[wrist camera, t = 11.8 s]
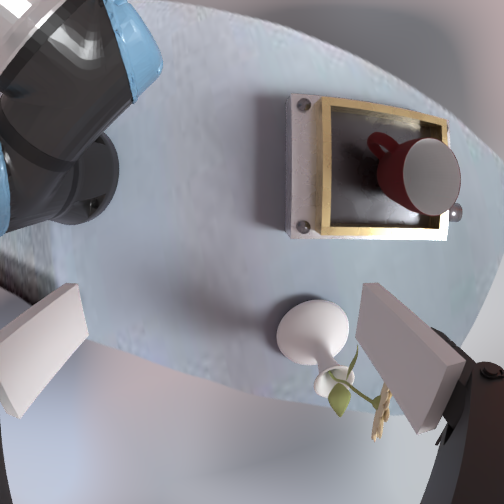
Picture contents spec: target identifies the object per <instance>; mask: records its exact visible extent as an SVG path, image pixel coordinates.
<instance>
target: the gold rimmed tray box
mask: <svg viewBox="0 0 504 504" xmlns="http://www.w3.org/2000/svg"><path fill="white" fill-rule="evenodd" d="M374 132H382V133H385V134H387V135H389V136H390V137H392V138H393V139H394V140H395V141H396V142H397V143H398V144H402V143H404V142H407V141H409V140H413V139H418V138H426V137H430V138H435V139H438V140H440V141H442V142H443V143H445V144H446V145H447V146H448V147H449V148H450V130H449V120H447V119H444V118H440V117H436V116H433V115H429V114H425V113H421V112H417V111H412V110H408V109H403V108H398V107H394V106H388V105H383V104H378V103H372V102H366V101H359V100H352V99H345V98H337V97H328V96H318V95H307V94H292V93H291V95H290V96H289V98H288V100H287V102H286V214H285V232H286V233H287V235H288V236H289V237H290V238H291V239H415V240H446V236H447V227H448V221H451V222H458V221H460V220H461V218H462V208H461V206H460V204H458V203H454V205H453V206H452V207H451V208H450V209H449V210H448V211H447V212H446V213H444V214H442V215H439V216H427V215H422V214H418V213H415V212H412V211H410V210H408V209H406V208H404V207H403V206H401V205H399V204H398V203H396V202H394V201H393V200H391V199H390V198H388V197H387V196H386V195H385V194H384V193H383V191H382V190H381V188H380V186H379V183H378V180H377V168H378V164H379V159H378V158H377V157H376V156H375V155H374V154H373V153H372V152H371V150H370V149H369V148H368V145H367V139H368V137H369V136H370V135H371V134H372V133H374ZM380 147H381V148H382V150H383V151H384V152H385V153H386V152H388V150H387V149H386V148H384V147H383V146H381V145H380Z"/></svg>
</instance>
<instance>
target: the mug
mask: <svg viewBox="0 0 504 504" xmlns="http://www.w3.org/2000/svg"><path fill="white" fill-rule="evenodd" d="M367 145H368V148H369V149H370V150H371V152H372V153H373V154H374V155H375V156H376V157H377V158H378V159H379V164H378V168H377V180H378V183H379V186H380V188H381V190H382V191H383V193H384V194H385V195H386V196H387V197H388V198H390V199H391V200H393V201H394V202H396V203H398V204H399V205H401V206H403V207H404V208H406V209H408V210H410V211H412V212H415V213H418V214H422V215H427V216H439V215H442V214H444V213H446V212H447V211H448V210H449V209H450V208H451V207H452V206H453V205H454V203H455V202H456V200H457V197H458V195H459V191H460V185H461V175H460V168H459V165H458V162H457V159H456V157H455V155H454V153H453V152H452V151H451V149H450V148H449V147H448V146H447V145H446V144H445V143H443V142H442V141H440V140H438V139H435V138H430V137H426V138H418V139H413V140H409V141H407V142H404V143H402V144H398V143H397V142H396V141H395V140H394V139H393V138H392V137H390V136H389V135H387V134H385V133H382V132H374V133H372V134H371V135H370V136H369V137H368V139H367ZM380 145H381V146H383V147H384V148H386V149H387V150H388V152H386V153H385V152H384V151H383V150H382V148H381V147H380Z"/></svg>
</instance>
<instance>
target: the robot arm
mask: <svg viewBox="0 0 504 504" xmlns="http://www.w3.org/2000/svg"><path fill="white" fill-rule="evenodd" d="M162 68H163V60H162V56H161V53H160V50H159V48H158V46H157V44H156V42H155V40H154V38H153V36H152V35H151V33H150V31H149V30H148V28H147V26H146V25H145V23H144V22H143V20H142V19H141V17H140V16H139V14H138V13H137V12H136V10H135V9H134V8H133V6H132V5H131V4H130V3H128V2H127V0H0V92H2V93H3V94H2V96H1V98H0V236H3V234H5V233H8V232H11V231H14V230H17V229H20V228H23V227H27V226H30V225H33V224H36V223H40V222H43V221H46V220H51V221H54V222H58V223H61V224H65V225H77V224H81V223H84V222H87V221H90V220H92V219H94V218H95V217H97V216H98V215H99V214H101V213H102V212H103V211H104V210H105V208H106V207H107V206H108V204H109V203H110V201H111V200H112V198H113V196H114V193H115V190H116V187H117V183H118V178H119V161H118V156H117V152H116V149H115V147H114V145H113V143H112V141H111V140H110V138H109V137H108V136H107V135H106V134H105V133H104V131H105V130H106V129H107V128H108V126H109V125H110V124H111V123H112V122H113V121H114V120H115V119H116V118H117V117H118V116H119V115H120V114H122V113H123V112H124V111H125V110H126V109H127V108H128V107H129V106H130V105H131V104H134V103H135V102H136V101H137V99H138V97H139V96H140V95H141V94H142V93H143V92H144V91H145V90H146V89H147V88H148V87H149V86H150V85H151V84H152V83H153V82H154V81H155V80H156V79H157V78H158V77H159V76H160V74H161V72H162ZM88 335H89V333H88V329H87V325H86V321H85V316H84V312H83V307H82V302H81V297H80V292H79V287H78V284H75V283H65V284H64V285H62V286H61V287H59V288H58V289H56V290H55V291H53V292H52V293H50V294H49V295H48V296H46V297H45V298H43V299H42V300H40V301H39V302H38V303H36V304H35V305H33V306H32V307H31V308H29V309H28V310H27V311H25V312H24V313H22V314H21V315H20V316H18V317H17V318H16V319H14V320H13V321H12V322H11V323H9V324H8V325H7V326H5V327H4V328H2V329H1V330H0V402H1V404H2V406H3V407H4V409H5V411H6V413H8V414H10V415H12V416H14V417H16V418H19V419H20V418H21V417H22V416H23V414H24V413H25V412H26V411H27V409H28V408H29V406H30V405H31V404H32V403H33V401H34V400H35V399H36V398H37V396H38V395H39V394H40V393H41V391H42V390H43V389H44V388H45V386H46V385H47V384H48V383H49V381H50V380H51V379H52V378H53V376H54V375H55V374H56V373H57V372H58V370H59V369H60V368H61V367H62V366H63V364H64V363H65V362H66V361H67V360H68V358H69V357H70V356H71V355H72V354H73V352H74V351H75V350H76V349H77V348H78V347H79V346H80V344H81V343H82V342H83V341H84V340H85V339H86V338H87V337H88ZM355 338H356V339H357V341H358V342H359V344H360V345H361V347H362V348H363V350H364V351H365V353H366V354H367V356H368V357H369V359H370V360H371V362H372V364H373V365H374V367H375V368H376V370H377V371H378V373H379V374H380V376H381V378H382V379H383V381H384V382H385V384H386V385H387V387H388V389H389V390H390V392H391V393H392V395H393V396H394V398H395V400H396V401H397V403H398V404H399V406H400V408H401V409H402V411H403V413H404V414H405V416H406V417H407V419H408V421H409V422H410V424H411V426H412V427H413V429H414V430H415V432H416V434H417V435H418V434H421V433H424V432H427V431H430V430H433V429H435V428H436V427H437V425H438V423H439V421H440V419H441V417H442V415H443V417H444V418H445V419H446V421H447V424H446V426H445V428H444V430H443V432H442V433H441V435H440V437H439V439H438V440H437V442H436V444H435V445H438V444H439V442H440V441H441V442H440V446H439V449H438V453H437V456H436V460H435V463H434V466H433V469H432V472H431V476H430V479H429V481H428V484H427V487H426V490H425V493H424V495H423V498H422V500H421V503H420V504H504V370H503V369H502V368H501V367H500V366H498V365H496V364H494V363H491V362H479V363H475V361H474V360H472V359H471V358H470V357H469V356H468V355H467V354H466V353H465V352H464V351H463V350H462V349H460V348H459V347H458V346H456V344H455V343H454V342H453V341H450V339H449V338H448V337H447V336H446V335H445V334H444V333H442V332H440V331H438V330H436V329H434V328H432V327H431V328H430V327H429V326H428V325H427V324H426V323H424V322H423V321H422V320H421V319H420V318H419V317H418V316H417V315H415V314H414V313H413V312H412V311H411V310H410V309H408V308H407V307H406V306H405V305H404V304H403V303H402V302H400V301H399V300H398V299H397V298H396V297H394V296H393V295H392V294H391V293H390V292H389V291H387V290H386V289H385V288H384V287H383V286H381V285H380V284H379V283H363V288H362V296H361V303H360V310H359V317H358V323H357V330H356V336H355ZM0 504H13V503H12V499H11V494H10V490H9V485H8V480H7V475H6V469H5V463H4V456H3V448H2V438H1V427H0Z"/></svg>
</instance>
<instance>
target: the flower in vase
mask: <svg viewBox="0 0 504 504" xmlns="http://www.w3.org/2000/svg"><path fill="white" fill-rule="evenodd" d="M348 333H349V322H348V318H347V316H346V314H345V312H344V311H343V310H342V308H340V307H339V306H338V305H336V304H335V303H333V302H330V301H327V300H310V301H306V302H303V303H301V304H299V305H297V306H295V307H293V308H292V309H291V310H290V311H288V312H287V313H286V315H285V316H284V317H283V318H282V320H281V322H280V323H279V326H278V329H277V335H276V338H277V344H278V347H279V349H280V350H281V352H282V353H283V354H284V355H285V356H286V357H287V358H288V359H290V360H291V361H293V362H295V363H298V364H302V365H315V364H318V369H319V375H318V376H317V378H316V379H315V382H314V390H315V392H316V393H317V394H318V395H320V396H322V397H328V401H329V403H330V405H331V407H332V408H333V410H334V411H335V412H336V414H337V415H338V416H339V417H341V416H342V415H343V413H344V411H345V410H346V408H347V406H348V404H349V401H350V398H351V394H350V392H349V390H348V389H349V388H351V389H352V390H353V391H354V392H355V393H357V394H358V395H360V396H361V397H362V398H364V399H365V400H367V401H368V402H370V403H372V405H373V407H374V408H375V409H376V413H375V417H374V422H373V429H372V437H371V438H372V439H374V442H375V440H376V436H377V437H379V439H380V438H381V436H382V432H383V422H387V421H388V418H389V414H390V412H389V408H388V406H389V403H390V398H391V397H392V393H391V392H390V390H389V389H388V387H387V385H386V384H385V382H384V384H383V387H382V391H381V394H380V396H377V397H376V398H374V400H371V399H370V398H368V397H367V396H365V395H364V394H362V393H361V392H359V391H358V390H357V389H355V388H354V387H353V386H352V384H353V382H354V373H353V371H352V369H353V367H354V365H355V362H356V359H357V356H358V344H357V352H356V355H355V357H354V359H353V360H352V362H351V364H350V366H349V367H347V366H343V365H339V364H338V363H337V362H336V361H335V359H334V358H333V357H334V356H335V355H336V354H337V353H338V352H339V351H340V350H341V349H342V348H343V346H344V345H345V343H346V341H347V338H348Z"/></svg>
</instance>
